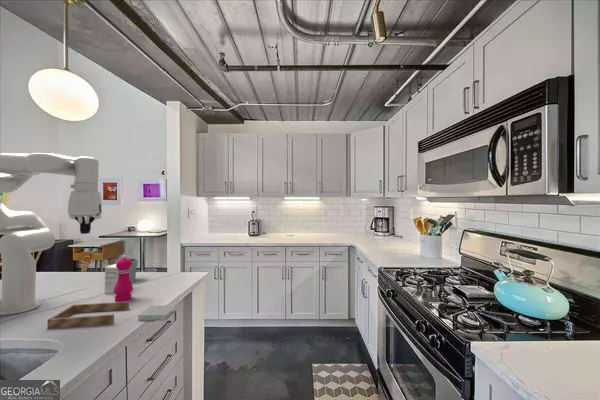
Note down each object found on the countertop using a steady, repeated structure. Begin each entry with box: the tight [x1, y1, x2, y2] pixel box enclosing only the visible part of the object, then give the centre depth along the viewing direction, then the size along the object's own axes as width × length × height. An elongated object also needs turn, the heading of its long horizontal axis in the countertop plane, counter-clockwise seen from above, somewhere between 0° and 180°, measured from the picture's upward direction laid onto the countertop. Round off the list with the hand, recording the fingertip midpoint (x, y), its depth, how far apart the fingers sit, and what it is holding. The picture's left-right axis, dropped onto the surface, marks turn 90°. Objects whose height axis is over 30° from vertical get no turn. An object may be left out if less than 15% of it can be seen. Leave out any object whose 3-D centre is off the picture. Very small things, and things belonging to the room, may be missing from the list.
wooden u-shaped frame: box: [46, 301, 130, 329], centre depth 100 cm, size 20×14×3 cm
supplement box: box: [104, 263, 118, 294], centre depth 131 cm, size 7×7×13 cm
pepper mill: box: [113, 254, 134, 302], centre depth 120 cm, size 7×7×20 cm
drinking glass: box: [115, 257, 139, 284], centre depth 146 cm, size 10×10×12 cm
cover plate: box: [137, 305, 177, 322], centre depth 103 cm, size 10×9×2 cm
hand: (85, 233), depth 107 cm, fingers closed
